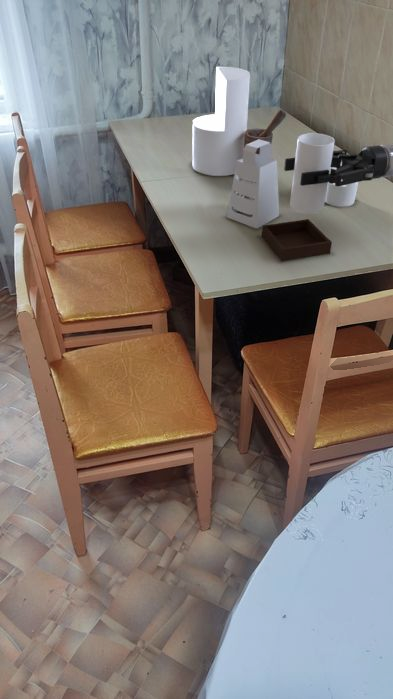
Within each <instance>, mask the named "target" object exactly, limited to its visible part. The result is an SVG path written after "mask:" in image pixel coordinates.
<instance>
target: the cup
mask: <svg viewBox="0 0 393 699" xmlns="http://www.w3.org/2000/svg"><path fill="white" fill-rule="evenodd" d="M335 142H336V141H335V138H334V137H332V136H331V135H328V134H325V133H317V132H310V133H303V134H300V135H299V136H298V137H297V140H296V150H295V157H294V158H295V165H294V170H293V175H292V184H291V190H290V191H291V192H290V200H289V207H290V208H291V209H292V210H293V211H295V212H298V213H303V214H316V213H320V212H322V211H323V210H324V208H325V203H326V202H325V197H326V191H327V185H328V183H320V184H312V185H304V186H301V185H300V182H301V174H302V173H305V172H313V171H322V170H329V174H330V171H331V161H332V155H333V151H334V148H335Z"/></svg>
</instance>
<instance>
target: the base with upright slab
mask: <svg viewBox="0 0 393 699" xmlns="http://www.w3.org/2000/svg"><path fill="white" fill-rule="evenodd" d="M340 166H342V162H341V165H340ZM331 168H332V169H335V170H336V169H337V168H334V167H330V169H331ZM330 172H331V170H330ZM341 181H342V180H341ZM358 186H359V182H356V183H351V184H347V185H343V186H335V183H333V184H331V183H329V182H328V185H327V191H326V197H325V203H326V204H327V205H330V206H333V207H339V208H340V207H341V208H342V207H343V208H345V207H350V206H352V205H354V204H355V202H356V201H355V200H356V196H357V190H358Z"/></svg>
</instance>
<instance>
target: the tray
mask: <svg viewBox="0 0 393 699" xmlns="http://www.w3.org/2000/svg"><path fill="white" fill-rule="evenodd" d="M260 236H261V239H262V241H264V243H266V245H267V246H268V247H269V248H270V250H271V252H273V254H274V255H275V256H276V257H277V258H278V259H279V260H280V261H281V262H287V261H294V260H299V259H300V260H301V259H306V258H312V257H318V256H325V255H330V254H331V249H332V244H333V242H332V240H331V239H330V238H328V236H326V235H325V234H324V232H323V231H321V230H320V228H318V226H316V225H315V224H314V223H313V222H312V221H311V220H310V219H309V218H306V219H299V220H292V221H286V222H277V223H271V224H270V223H269V224H264V225H262V226H261V235H260Z"/></svg>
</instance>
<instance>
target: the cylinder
mask: <svg viewBox="0 0 393 699" xmlns="http://www.w3.org/2000/svg"><path fill="white" fill-rule="evenodd" d="M215 70H216V71H215V109H214V113H213V114H211V113H210V114H204V115H201V116H197V117H195V118H194V119H193V120H192V125H191V126H192V127H191V128H192V132H191V133H192V138H191V142H192V145H191V146H192V147H191V148H192V150H191V151H192V153H191V156H192V157H191V160H192V162H191V163H192V167H191V168H192V169H193V170H194V171H196V172H197V173H200V174H202V175H205V176H213V177H214V176H215V177H225V176H232V175H234V174H235V169H236V164H237V161H238V160H240V159H242V158H243V150H244V142H245V141H244V139H245V131H246V130H248V115H249V100H250V99H249V98H250V86H251V85H250V83H251V73H250V71H248V70H246V69H244V68H240V67H235V66H220V65H219V66H216V68H215Z"/></svg>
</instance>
